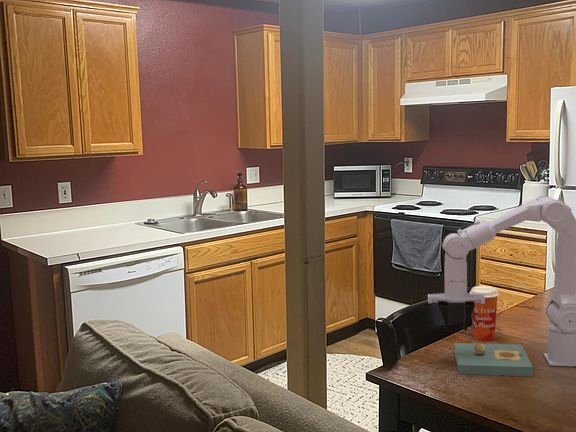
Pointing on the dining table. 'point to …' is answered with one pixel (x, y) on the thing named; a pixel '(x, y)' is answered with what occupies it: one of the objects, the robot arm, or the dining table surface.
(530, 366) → the hole board
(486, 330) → the coffee cup
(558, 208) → the robot arm
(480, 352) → the maple ball
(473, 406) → the dining table surface
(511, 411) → the dining table surface
